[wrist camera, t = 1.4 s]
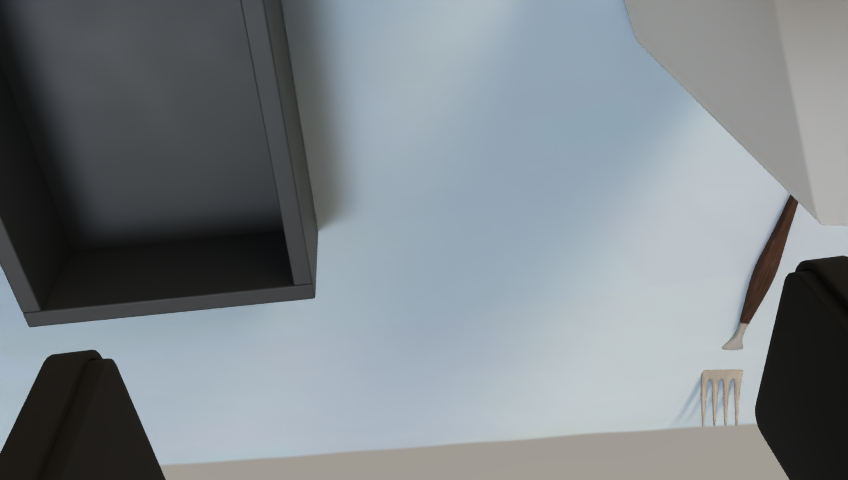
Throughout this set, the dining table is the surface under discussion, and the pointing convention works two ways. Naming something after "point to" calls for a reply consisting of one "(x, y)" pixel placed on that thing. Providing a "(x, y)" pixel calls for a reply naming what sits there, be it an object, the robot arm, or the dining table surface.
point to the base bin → (150, 159)
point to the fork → (750, 310)
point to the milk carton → (765, 83)
